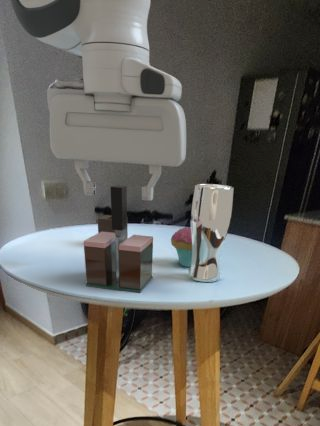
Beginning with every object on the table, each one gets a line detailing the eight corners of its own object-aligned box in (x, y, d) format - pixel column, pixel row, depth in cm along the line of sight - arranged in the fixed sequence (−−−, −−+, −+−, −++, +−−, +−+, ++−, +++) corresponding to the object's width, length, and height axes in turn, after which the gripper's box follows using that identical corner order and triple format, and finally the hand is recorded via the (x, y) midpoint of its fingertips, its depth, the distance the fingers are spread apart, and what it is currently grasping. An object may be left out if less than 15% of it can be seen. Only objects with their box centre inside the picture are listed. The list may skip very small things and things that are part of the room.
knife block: (98, 247, 85) (97, 218, 82) (106, 242, 89) (105, 214, 86) (120, 249, 84) (120, 220, 81) (127, 244, 89) (127, 216, 85)
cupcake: (218, 267, 76) (227, 201, 69) (186, 272, 72) (192, 203, 65) (193, 257, 81) (198, 195, 74) (161, 261, 77) (164, 196, 70)
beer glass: (197, 269, 74) (206, 182, 65) (228, 277, 71) (242, 187, 62) (178, 277, 69) (185, 184, 60) (210, 285, 66) (223, 189, 57)
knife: (112, 281, 64) (109, 186, 56) (118, 276, 67) (116, 185, 58) (122, 282, 64) (120, 187, 55) (128, 277, 66) (127, 185, 58)
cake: (85, 286, 63) (82, 241, 59) (103, 272, 70) (101, 231, 65) (140, 292, 61) (140, 247, 57) (152, 278, 68) (154, 236, 64)
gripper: (34, 74, 48) (48, 194, 57) (185, 79, 45) (177, 205, 54) (55, 80, 53) (65, 190, 62) (193, 85, 50) (184, 200, 58)
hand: (118, 197), depth 58 cm, fingers open, 8 cm apart
